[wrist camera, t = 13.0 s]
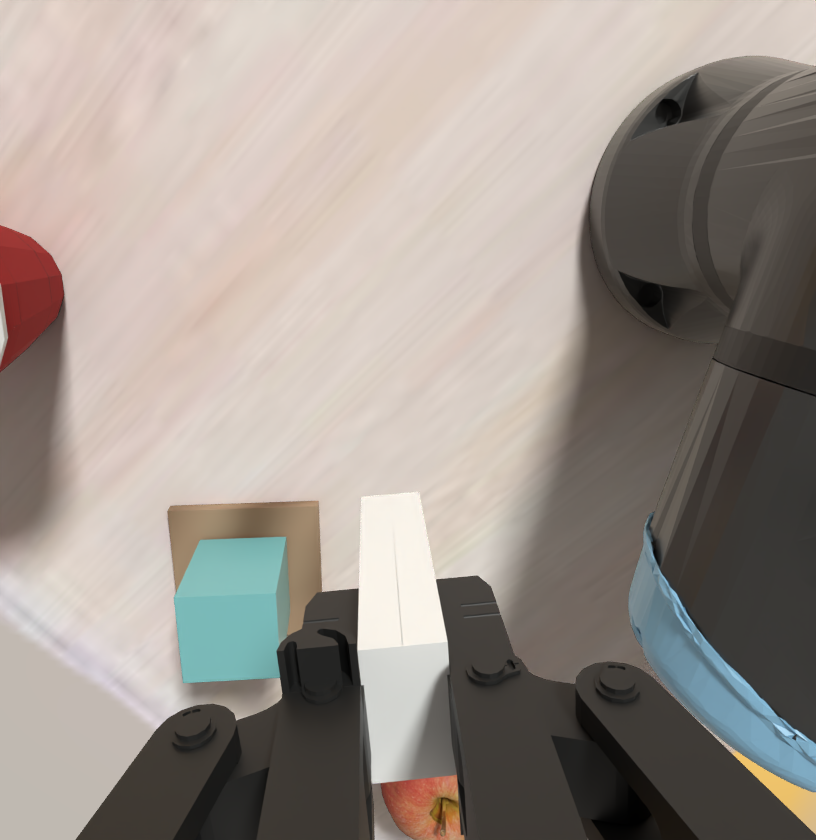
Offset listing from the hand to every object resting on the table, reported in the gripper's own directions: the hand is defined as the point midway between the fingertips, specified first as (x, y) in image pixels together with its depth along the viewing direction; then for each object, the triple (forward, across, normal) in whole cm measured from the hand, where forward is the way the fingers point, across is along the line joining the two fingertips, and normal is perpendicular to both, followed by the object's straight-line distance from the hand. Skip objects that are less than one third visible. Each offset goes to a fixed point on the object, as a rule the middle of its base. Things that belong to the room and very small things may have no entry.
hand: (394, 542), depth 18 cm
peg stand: (+23, +9, +12) cm, 28 cm away
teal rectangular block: (+22, +9, +12) cm, 27 cm away
